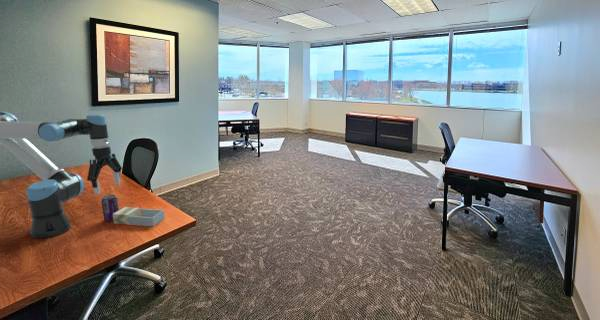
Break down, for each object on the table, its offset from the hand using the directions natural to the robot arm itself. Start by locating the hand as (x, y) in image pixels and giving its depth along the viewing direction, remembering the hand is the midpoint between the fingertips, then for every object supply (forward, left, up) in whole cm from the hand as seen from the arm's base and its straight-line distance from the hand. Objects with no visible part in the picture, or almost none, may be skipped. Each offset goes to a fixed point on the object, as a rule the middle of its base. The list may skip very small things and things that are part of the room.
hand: (108, 188), depth 161 cm
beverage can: (0, 0, -16) cm, 16 cm away
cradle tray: (+19, 0, -16) cm, 25 cm away
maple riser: (+8, 0, -16) cm, 18 cm away
